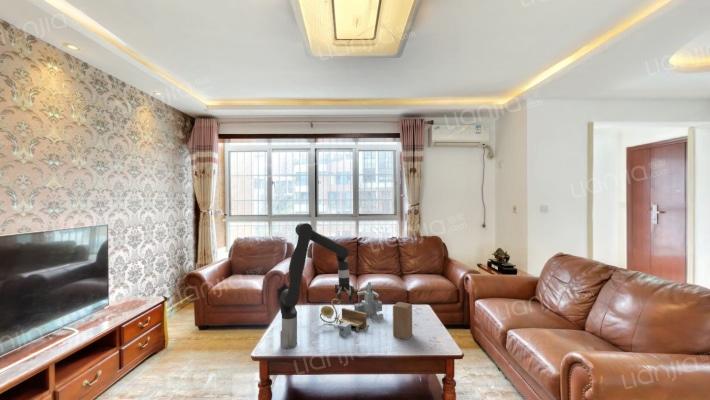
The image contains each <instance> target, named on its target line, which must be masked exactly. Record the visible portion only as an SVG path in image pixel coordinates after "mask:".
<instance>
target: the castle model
mask: <svg viewBox="0 0 710 400" xmlns="http://www.w3.org/2000/svg"><path fill="white" fill-rule="evenodd" d="M365 287H366V290H362V291H357V297H358V303H354V310H355V311H359V312H363V313H367V319H369V318H371V319H373V320H374V321H380V320H384V313H378V312H383V302H382V300H379V297H380V293H378V292H376V291H374V290H373V285H372V282H371V281H368V282H367V284H366V285H365ZM362 295H363V296H364V300H361V302H360V297H361V296H362ZM374 297H376V300H374Z"/></svg>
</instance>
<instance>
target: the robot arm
mask: <svg viewBox="0 0 710 400" xmlns="http://www.w3.org/2000/svg"><path fill="white" fill-rule="evenodd" d="M294 232H295V233H296V235H297V243H296V246H295V248H294V250H293V252H292V255H291V257H290V260H289V265H288V276H289V284H288V288H286V289H284V290H283V291H282V292H281V294H280V296H279V297H280V298H279V299H280V301H279V305H280V314H281V330H279V331H280V332H279V333H280V335H279V336H280V339H279V340H280V342H279V343H280V347H281V348H284V349H286V350H288V349H289V350H290V349H292V348H295V347H297V345H298V311H297V309H296V305H297V304H298V303H299V299H300V293H301V286H302V280H303V275H304V274H303V273H304V270H305V265H306V262H307V260H306V259H307V254H308V249H309V244H310V242H311V241H312V242H314V243H316V244H317V245H318V246H320V247H322V248H323V249H326V250H327V251H330V252H332V253H334V254H335V257H336V261H337V270H338V271H337V272H338V273H337V275H338V277H337V278H338V283H336V284H334V292H335V294H337V299H339V300H340V301H341V300H342V292H346V293H347V294H348V301H349V302H352V301H353V295H355V294H356V292H355V285H354V284H352V285H350V283H351V281H350V280H351V278H350V269H349V262H348V260H347V257H348V256H350V249H349V248H348V247H346V246H344V245H342V244H340V243H338V242H337V241H335V240H333V239H331V238H329V237H327V236H325V235H323V234H321V233H318V232H317V231H315V230H314V229H313V226H312V224H311V223H309V222H300V223H298V224H297V225H296V226H295V230H294Z"/></svg>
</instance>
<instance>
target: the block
mask: <svg viewBox="0 0 710 400" xmlns="http://www.w3.org/2000/svg"><path fill="white" fill-rule="evenodd" d="M392 333H393V334H392V335H393V337H394V338H398V339H401V340H402V339H403V340H408V339H409V338H410V337H411V336H412V335H413V305H412V303H408V302H403V301H402V302H401V301H398V302H396V303H395V304H394V305H393V306H392Z"/></svg>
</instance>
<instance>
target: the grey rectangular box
mask: <svg viewBox="0 0 710 400" xmlns="http://www.w3.org/2000/svg"><path fill="white" fill-rule="evenodd" d="M351 333H352V325H351V323H348V322H344V323H342V324H340V323H339V325H338V335H340V336H343V337H347V336H348V335H350V334H351Z"/></svg>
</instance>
